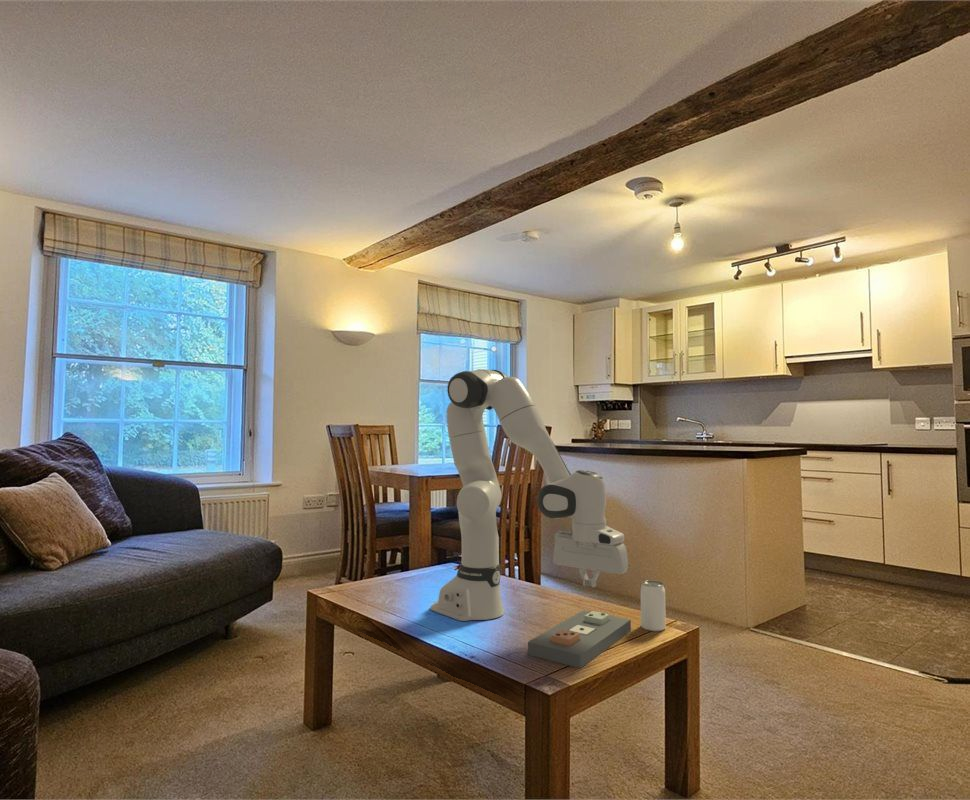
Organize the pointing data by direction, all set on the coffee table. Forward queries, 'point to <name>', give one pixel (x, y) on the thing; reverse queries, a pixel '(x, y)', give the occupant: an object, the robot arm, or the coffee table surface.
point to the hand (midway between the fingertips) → (589, 586)
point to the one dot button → (582, 630)
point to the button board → (585, 646)
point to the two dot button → (597, 618)
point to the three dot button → (565, 638)
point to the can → (653, 606)
